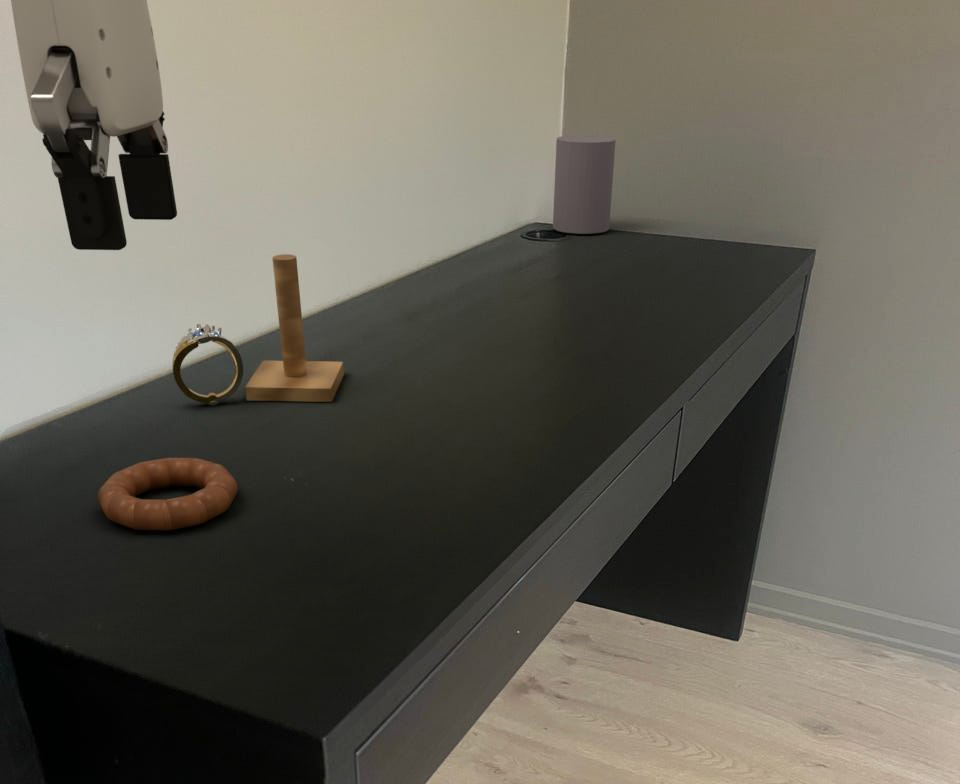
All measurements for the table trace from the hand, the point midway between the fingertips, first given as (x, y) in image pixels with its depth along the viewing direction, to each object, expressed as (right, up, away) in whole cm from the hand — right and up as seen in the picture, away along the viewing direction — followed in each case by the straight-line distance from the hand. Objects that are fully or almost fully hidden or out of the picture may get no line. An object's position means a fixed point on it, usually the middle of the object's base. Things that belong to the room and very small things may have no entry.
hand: (128, 232), depth 64 cm
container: (+41, +49, +117) cm, 133 cm away
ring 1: (-3, -14, +18) cm, 23 cm away
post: (+3, +1, +43) cm, 43 cm away
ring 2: (-5, -2, +39) cm, 39 cm away
